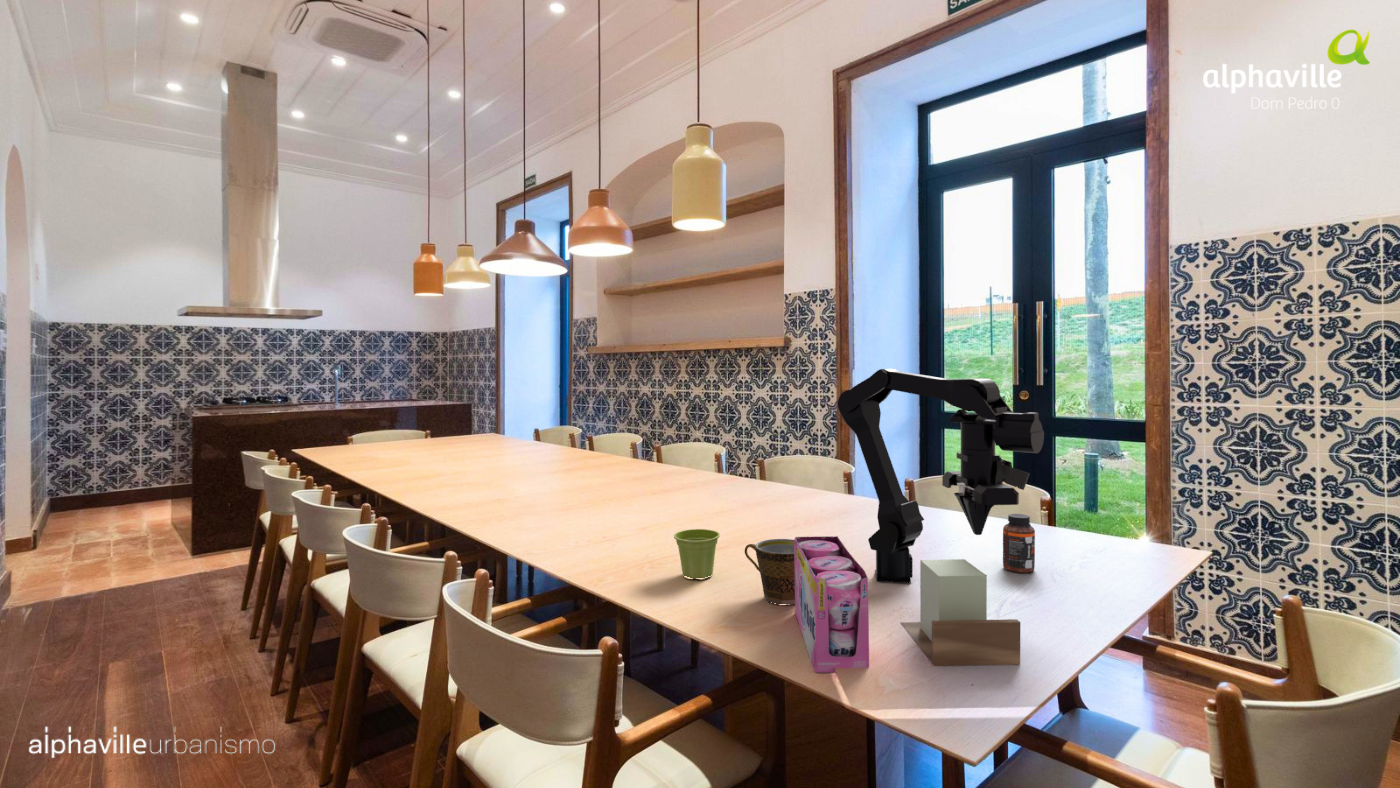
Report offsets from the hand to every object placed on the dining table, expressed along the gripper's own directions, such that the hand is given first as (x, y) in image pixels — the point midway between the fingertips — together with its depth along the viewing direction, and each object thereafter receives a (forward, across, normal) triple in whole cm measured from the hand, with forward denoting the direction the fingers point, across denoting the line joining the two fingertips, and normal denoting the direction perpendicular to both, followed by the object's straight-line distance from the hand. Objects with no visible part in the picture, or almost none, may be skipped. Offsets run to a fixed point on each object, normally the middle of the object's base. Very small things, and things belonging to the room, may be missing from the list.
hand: (977, 534), depth 117 cm
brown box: (+12, -19, +12) cm, 26 cm away
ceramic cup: (+12, +3, +36) cm, 38 cm away
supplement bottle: (+12, +17, -16) cm, 26 cm away
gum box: (+12, -16, +30) cm, 36 cm away
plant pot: (+12, +16, +51) cm, 55 cm away
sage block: (+11, -18, +12) cm, 24 cm away
